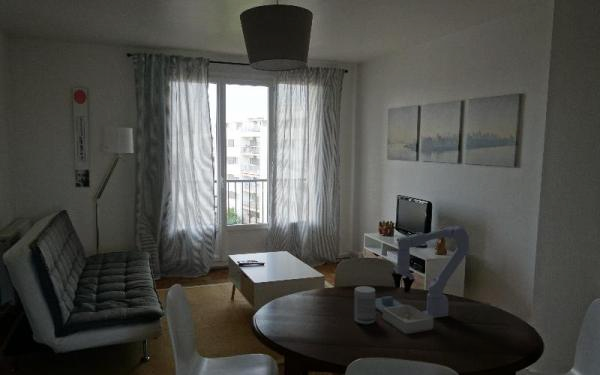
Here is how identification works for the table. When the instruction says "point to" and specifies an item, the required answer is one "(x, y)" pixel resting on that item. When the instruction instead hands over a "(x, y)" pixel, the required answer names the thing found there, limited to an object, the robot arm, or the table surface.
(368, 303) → the supplement tub
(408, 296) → the table surface
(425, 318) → the parts tub
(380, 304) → the snap lid
